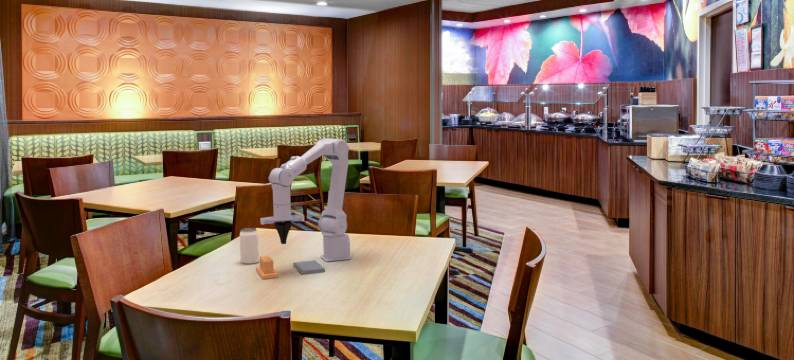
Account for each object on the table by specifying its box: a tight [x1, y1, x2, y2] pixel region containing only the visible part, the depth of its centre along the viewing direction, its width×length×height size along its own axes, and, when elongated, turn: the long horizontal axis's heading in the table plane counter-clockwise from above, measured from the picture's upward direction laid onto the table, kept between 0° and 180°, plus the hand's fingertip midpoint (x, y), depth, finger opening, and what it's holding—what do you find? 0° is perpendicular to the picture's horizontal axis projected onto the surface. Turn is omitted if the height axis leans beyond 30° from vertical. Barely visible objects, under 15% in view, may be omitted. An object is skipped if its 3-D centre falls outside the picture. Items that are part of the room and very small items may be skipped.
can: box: [239, 227, 260, 265], centre depth 221 cm, size 6×6×12 cm
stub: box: [255, 255, 279, 280], centre depth 206 cm, size 5×12×5 cm, turn 23°
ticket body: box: [292, 259, 326, 275], centre depth 212 cm, size 8×12×1 cm, turn 23°
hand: (283, 243), depth 207 cm, fingers closed
